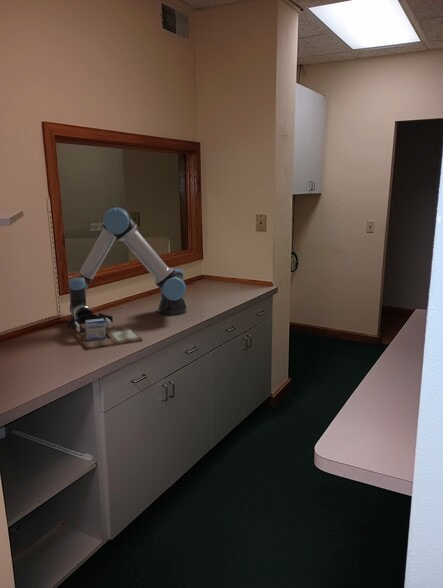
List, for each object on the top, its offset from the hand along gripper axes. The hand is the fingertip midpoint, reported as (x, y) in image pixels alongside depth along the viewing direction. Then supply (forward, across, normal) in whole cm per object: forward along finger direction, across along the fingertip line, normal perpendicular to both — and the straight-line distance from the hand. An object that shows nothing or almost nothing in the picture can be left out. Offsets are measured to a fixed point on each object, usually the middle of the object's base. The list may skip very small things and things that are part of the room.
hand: (94, 326), depth 204 cm
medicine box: (-1, 0, -6) cm, 6 cm away
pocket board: (+1, -6, -6) cm, 8 cm away
